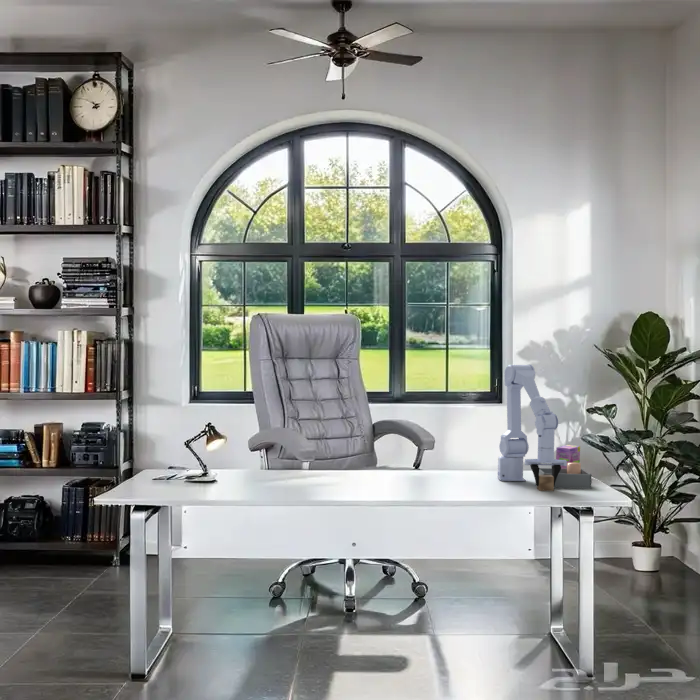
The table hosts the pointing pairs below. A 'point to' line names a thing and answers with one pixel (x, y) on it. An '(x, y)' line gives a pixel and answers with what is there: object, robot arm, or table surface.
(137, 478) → the table surface
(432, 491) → the table surface
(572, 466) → the terracotta cylinder
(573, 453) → the box
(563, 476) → the tote
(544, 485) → the walnut cube
